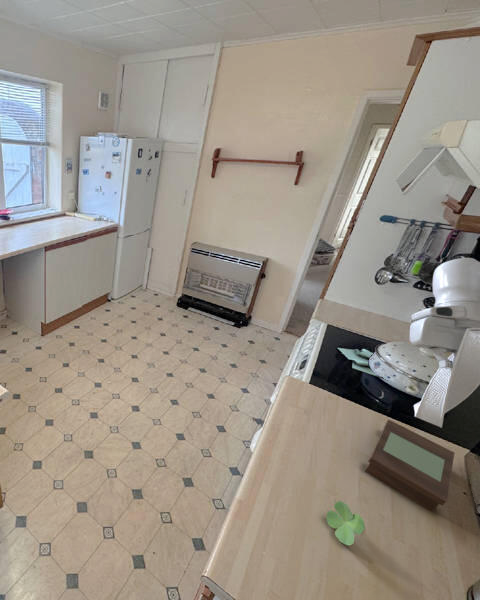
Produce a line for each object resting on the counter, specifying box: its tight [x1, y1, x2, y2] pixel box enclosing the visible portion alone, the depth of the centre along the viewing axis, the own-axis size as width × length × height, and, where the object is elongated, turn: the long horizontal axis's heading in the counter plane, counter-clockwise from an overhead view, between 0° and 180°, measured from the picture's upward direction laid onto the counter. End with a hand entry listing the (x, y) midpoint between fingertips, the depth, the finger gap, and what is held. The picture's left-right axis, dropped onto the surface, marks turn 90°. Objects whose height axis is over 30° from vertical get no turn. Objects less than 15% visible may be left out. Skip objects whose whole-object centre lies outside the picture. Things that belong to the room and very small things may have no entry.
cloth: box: [337, 347, 378, 377], centre depth 130 cm, size 20×22×2 cm
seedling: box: [326, 500, 366, 546], centre depth 71 cm, size 7×8×6 cm
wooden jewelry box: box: [364, 419, 455, 512], centre depth 86 cm, size 22×14×5 cm, turn 129°
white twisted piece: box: [413, 328, 480, 429], centre depth 79 cm, size 8×8×28 cm
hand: (465, 371), depth 78 cm, fingers closed on white twisted piece, 6 cm apart
